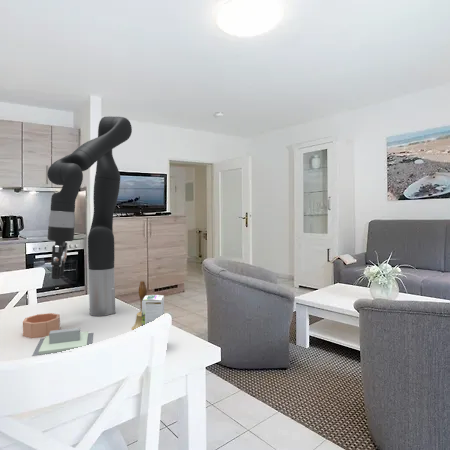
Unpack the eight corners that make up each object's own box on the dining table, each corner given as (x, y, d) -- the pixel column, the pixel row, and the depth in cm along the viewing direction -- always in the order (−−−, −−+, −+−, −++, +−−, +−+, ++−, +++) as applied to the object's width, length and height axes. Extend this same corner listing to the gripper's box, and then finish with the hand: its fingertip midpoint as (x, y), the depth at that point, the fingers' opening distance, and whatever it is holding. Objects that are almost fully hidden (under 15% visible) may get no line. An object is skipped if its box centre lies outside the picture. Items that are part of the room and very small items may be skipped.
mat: (93, 334, 108) (93, 332, 108) (92, 350, 96) (92, 348, 96) (40, 340, 103) (40, 338, 103) (31, 358, 91) (31, 356, 91)
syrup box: (144, 343, 101) (143, 294, 100) (164, 342, 101) (164, 294, 101) (141, 351, 95) (140, 300, 94) (162, 350, 95) (162, 299, 95)
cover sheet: (88, 333, 107) (88, 321, 107) (86, 348, 96) (86, 335, 96) (45, 338, 103) (45, 326, 103) (38, 354, 92) (38, 340, 92)
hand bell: (132, 335, 107) (131, 285, 107) (129, 327, 115) (128, 280, 114) (158, 331, 110) (158, 282, 110) (154, 323, 118) (153, 278, 118)
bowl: (61, 326, 116) (61, 312, 115) (57, 337, 106) (57, 321, 106) (27, 330, 112) (27, 315, 112) (20, 341, 103) (20, 324, 103)
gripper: (72, 227, 103) (68, 280, 103) (76, 225, 117) (73, 273, 117) (44, 225, 101) (40, 280, 101) (52, 224, 114) (48, 272, 114)
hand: (57, 276), depth 109 cm, fingers open, 8 cm apart
